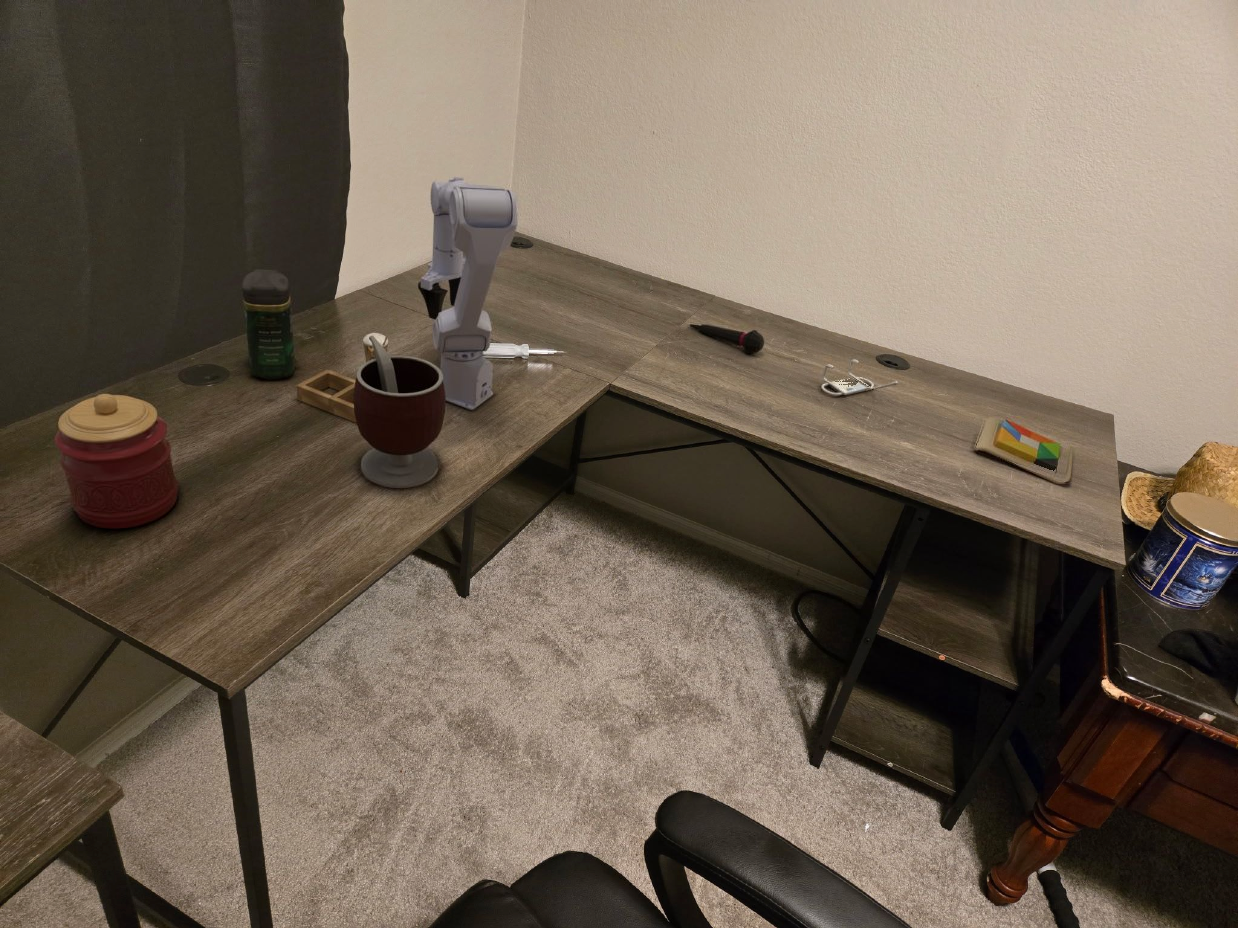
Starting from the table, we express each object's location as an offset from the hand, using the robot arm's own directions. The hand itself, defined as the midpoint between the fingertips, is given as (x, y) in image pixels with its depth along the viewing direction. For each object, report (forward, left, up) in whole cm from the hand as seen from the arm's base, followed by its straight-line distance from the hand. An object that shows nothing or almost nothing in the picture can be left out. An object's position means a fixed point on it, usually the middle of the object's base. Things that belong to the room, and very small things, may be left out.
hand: (445, 312), depth 159 cm
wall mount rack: (-79, -47, -11) cm, 93 cm away
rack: (+3, +26, -10) cm, 28 cm away
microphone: (-46, -53, -11) cm, 71 cm away
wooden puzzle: (-116, -44, -11) cm, 125 cm away
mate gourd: (-15, +36, -11) cm, 41 cm away
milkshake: (+5, +15, -11) cm, 19 cm away
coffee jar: (+22, +24, -11) cm, 34 cm away
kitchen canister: (+9, +66, -11) cm, 68 cm away
